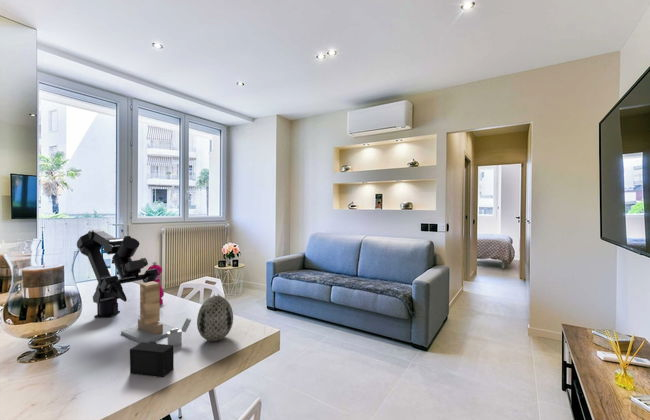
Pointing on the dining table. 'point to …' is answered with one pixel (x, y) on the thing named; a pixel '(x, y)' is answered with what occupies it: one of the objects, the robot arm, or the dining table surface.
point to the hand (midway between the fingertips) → (139, 297)
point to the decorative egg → (215, 318)
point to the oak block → (149, 303)
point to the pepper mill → (158, 279)
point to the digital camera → (151, 359)
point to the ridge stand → (147, 332)
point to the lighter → (177, 334)
